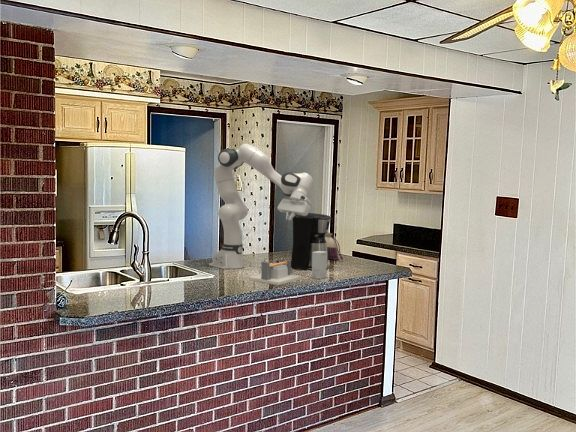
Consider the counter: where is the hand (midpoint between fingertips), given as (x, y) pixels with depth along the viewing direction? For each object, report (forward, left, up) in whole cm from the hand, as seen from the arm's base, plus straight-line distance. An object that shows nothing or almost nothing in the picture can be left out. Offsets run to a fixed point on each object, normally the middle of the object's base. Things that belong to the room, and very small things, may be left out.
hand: (288, 219), depth 309 cm
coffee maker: (-8, +30, -32) cm, 45 cm away
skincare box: (+17, +7, -32) cm, 37 cm away
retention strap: (+2, -13, -24) cm, 27 cm away
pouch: (-12, +64, -32) cm, 73 cm away
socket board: (+2, -14, -32) cm, 35 cm away
